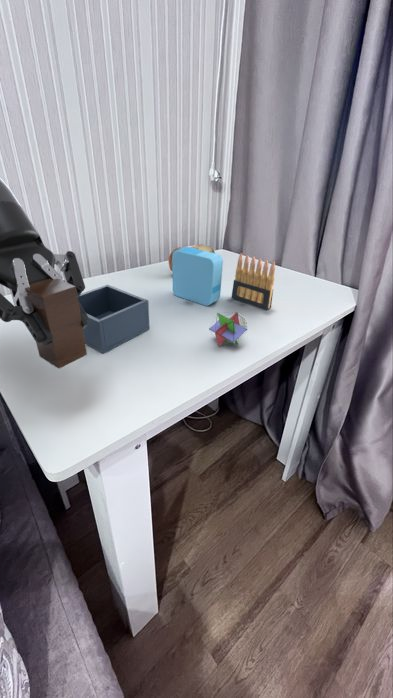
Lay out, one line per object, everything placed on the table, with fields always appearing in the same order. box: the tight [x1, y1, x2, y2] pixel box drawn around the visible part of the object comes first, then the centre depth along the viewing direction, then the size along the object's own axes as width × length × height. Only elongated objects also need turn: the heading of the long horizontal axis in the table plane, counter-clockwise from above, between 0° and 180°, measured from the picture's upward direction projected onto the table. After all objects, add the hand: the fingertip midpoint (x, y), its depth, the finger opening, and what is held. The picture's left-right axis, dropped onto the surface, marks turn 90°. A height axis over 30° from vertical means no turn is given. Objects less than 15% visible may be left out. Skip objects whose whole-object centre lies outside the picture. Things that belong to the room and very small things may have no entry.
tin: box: [168, 244, 216, 273], centre depth 99 cm, size 15×3×8 cm, turn 119°
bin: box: [78, 284, 150, 354], centre depth 68 cm, size 13×13×7 cm
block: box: [25, 279, 88, 369], centre depth 42 cm, size 4×4×10 cm
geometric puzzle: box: [208, 310, 249, 348], centre depth 66 cm, size 7×7×8 cm
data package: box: [172, 246, 224, 307], centre depth 83 cm, size 12×4×12 cm, turn 55°
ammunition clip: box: [230, 252, 276, 311], centre depth 81 cm, size 11×2×12 cm, turn 52°
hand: (67, 334), depth 42 cm, fingers closed on block, 4 cm apart
